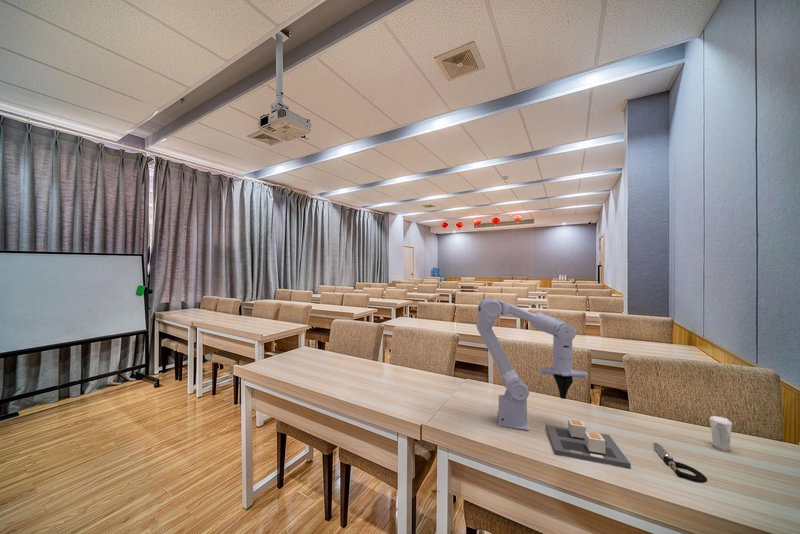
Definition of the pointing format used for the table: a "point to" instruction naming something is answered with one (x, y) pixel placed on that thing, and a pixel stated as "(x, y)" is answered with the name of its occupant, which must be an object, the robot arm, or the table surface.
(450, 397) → the table surface
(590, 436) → the white orange cube
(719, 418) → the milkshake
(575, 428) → the white orange block
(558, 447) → the switch plate
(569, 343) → the robot arm
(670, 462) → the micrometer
